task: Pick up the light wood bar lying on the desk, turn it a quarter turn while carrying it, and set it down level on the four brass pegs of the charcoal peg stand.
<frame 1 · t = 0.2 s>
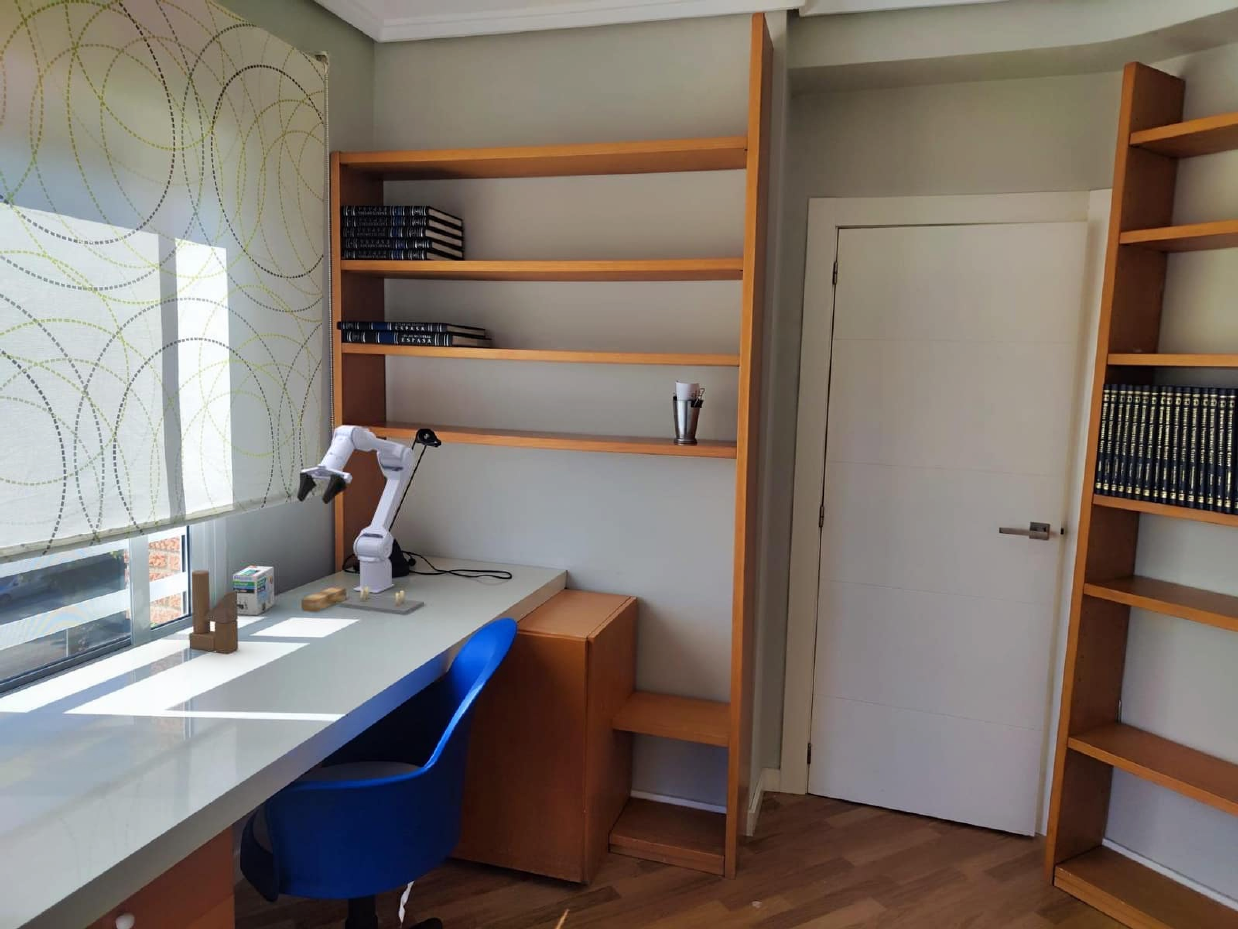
hand: (312, 500, 221), 31 cm above the table, tool tilted 45°, fingers open, 7 cm apart
light bulb box: (254, 610, 227), on the table
peg stand: (382, 605, 235), on the table
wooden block: (214, 650, 196), on the table
light wood bar: (324, 605, 234), on the table
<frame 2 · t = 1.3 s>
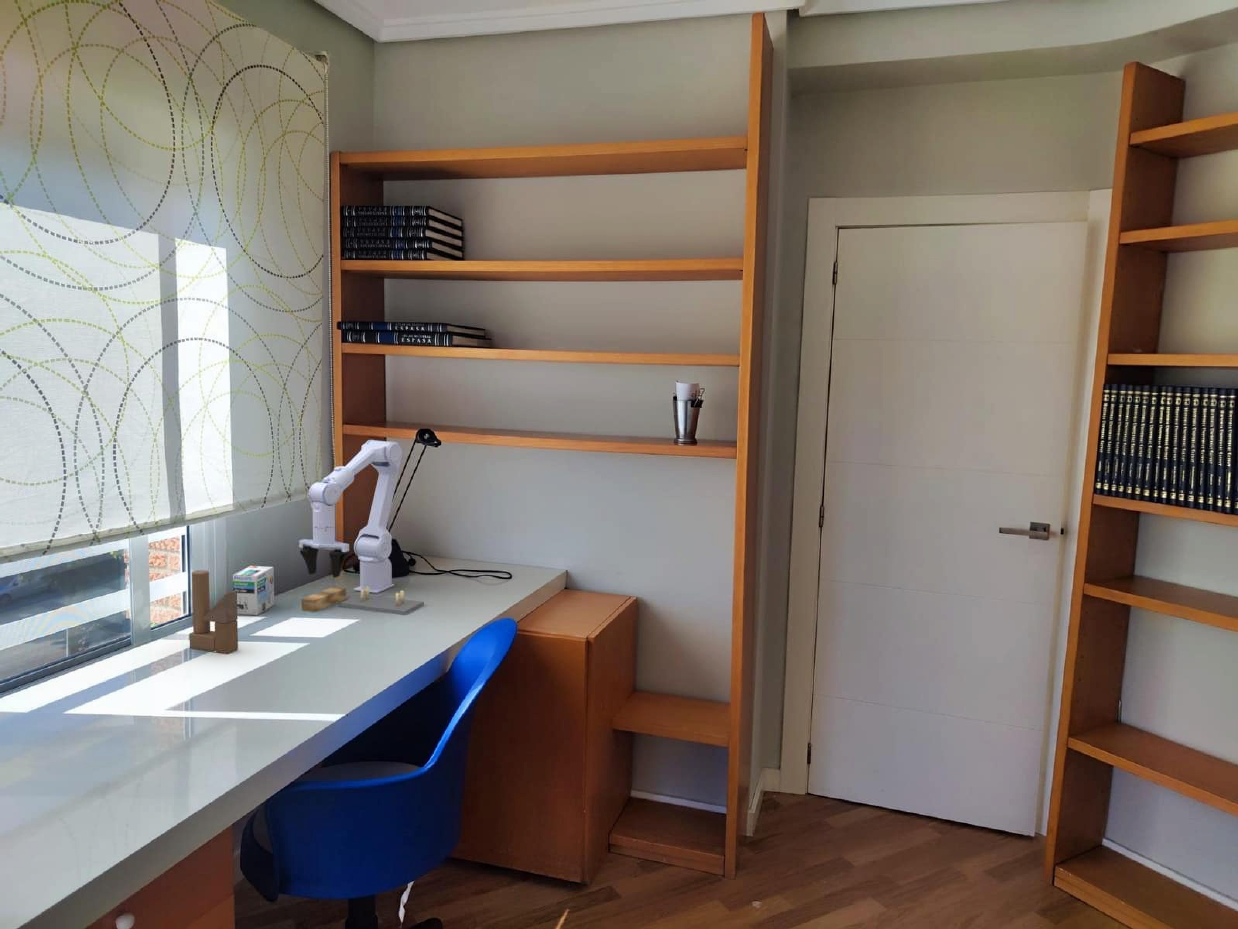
hand: (324, 575, 233), 8 cm above the table, tool pointing down, fingers open, 7 cm apart
nothing on the table moved.
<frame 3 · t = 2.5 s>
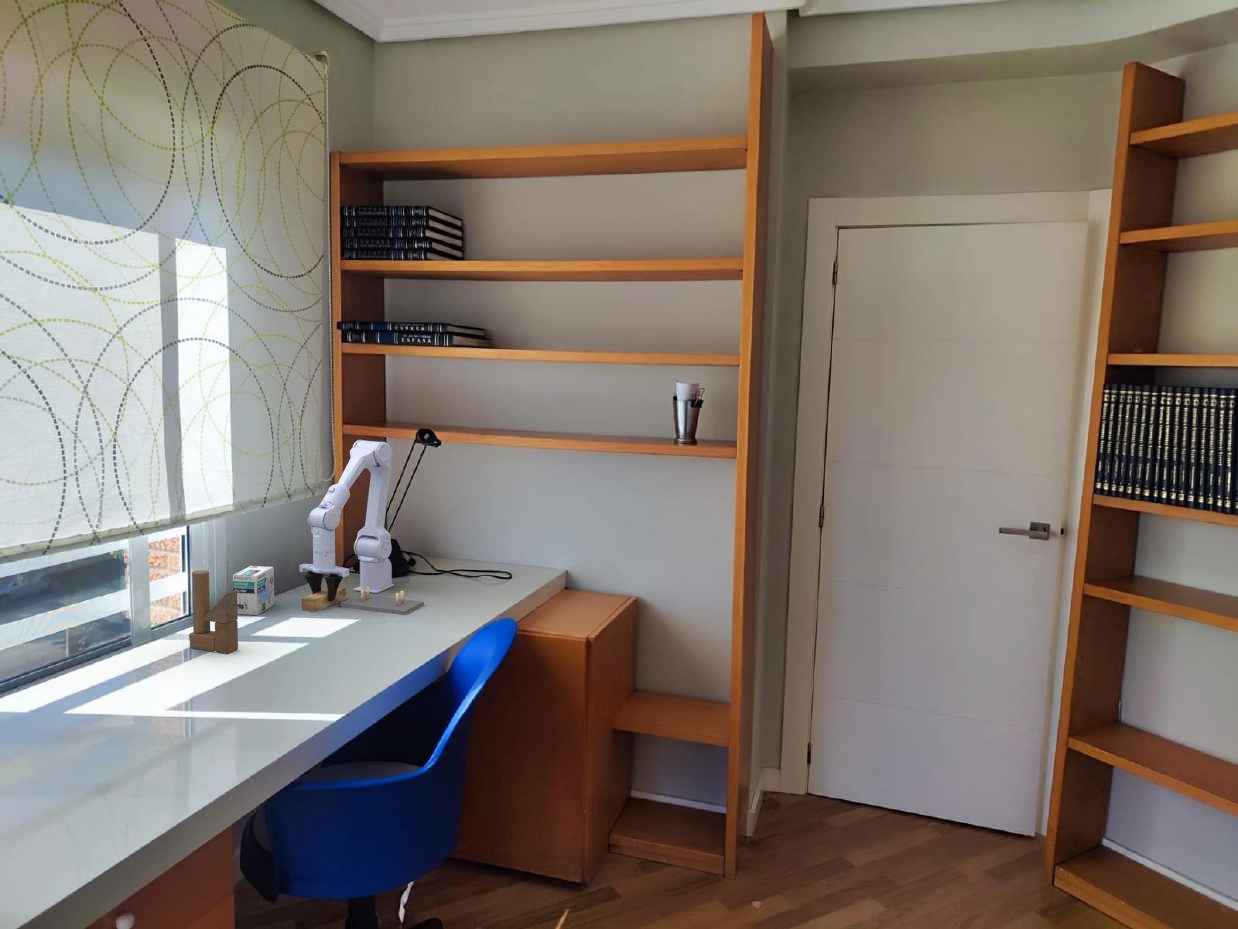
hand: (324, 599, 234), 1 cm above the table, tool pointing down, fingers closed on light wood bar, 4 cm apart
light wood bar: (324, 605, 234), on the table, touching gripper
everything else where it was.
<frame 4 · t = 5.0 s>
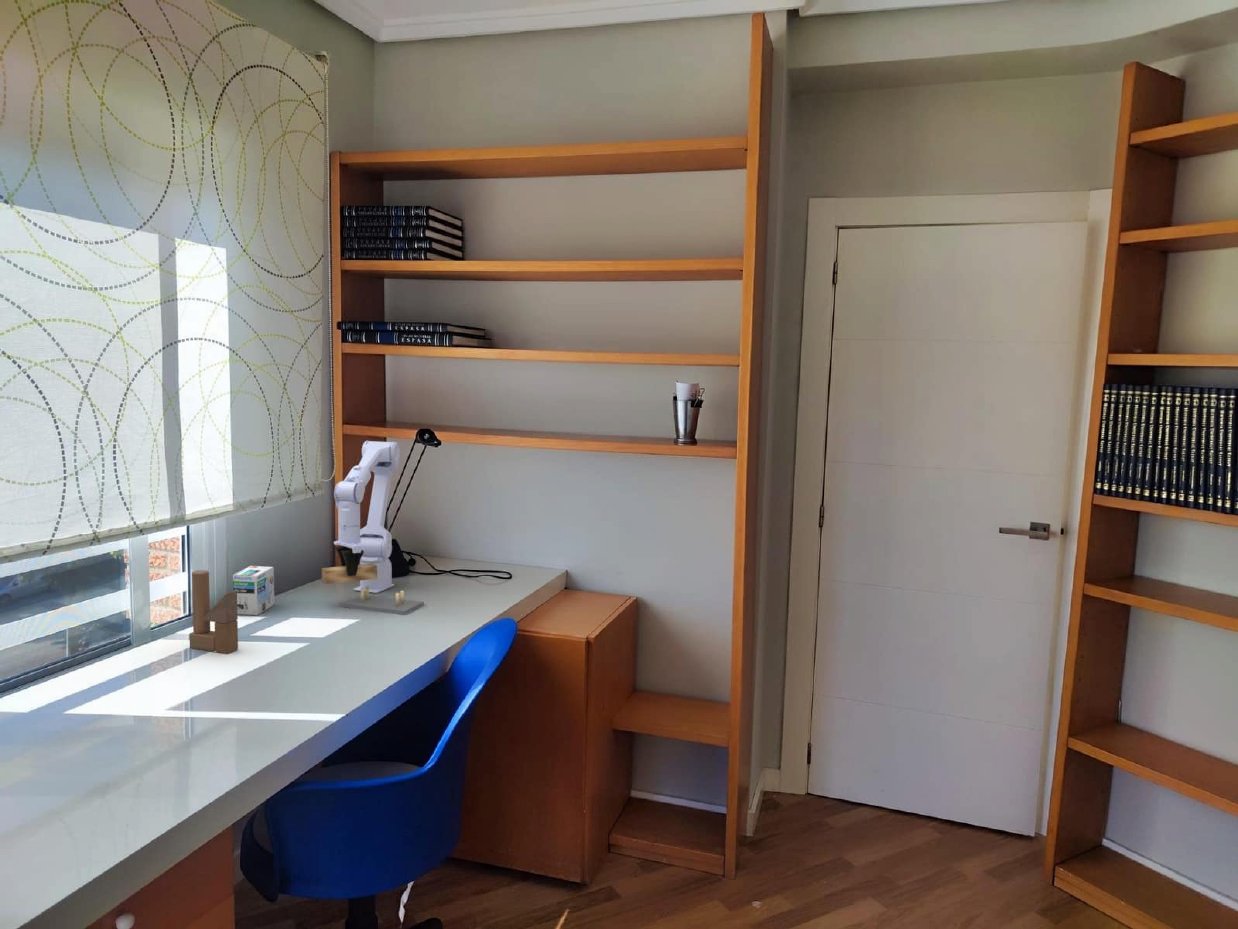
hand: (349, 573, 233), 9 cm above the table, tool pointing down, fingers closed on light wood bar, 4 cm apart
light wood bar: (349, 579, 233), point 7 cm above the table, touching gripper
everything else where it was.
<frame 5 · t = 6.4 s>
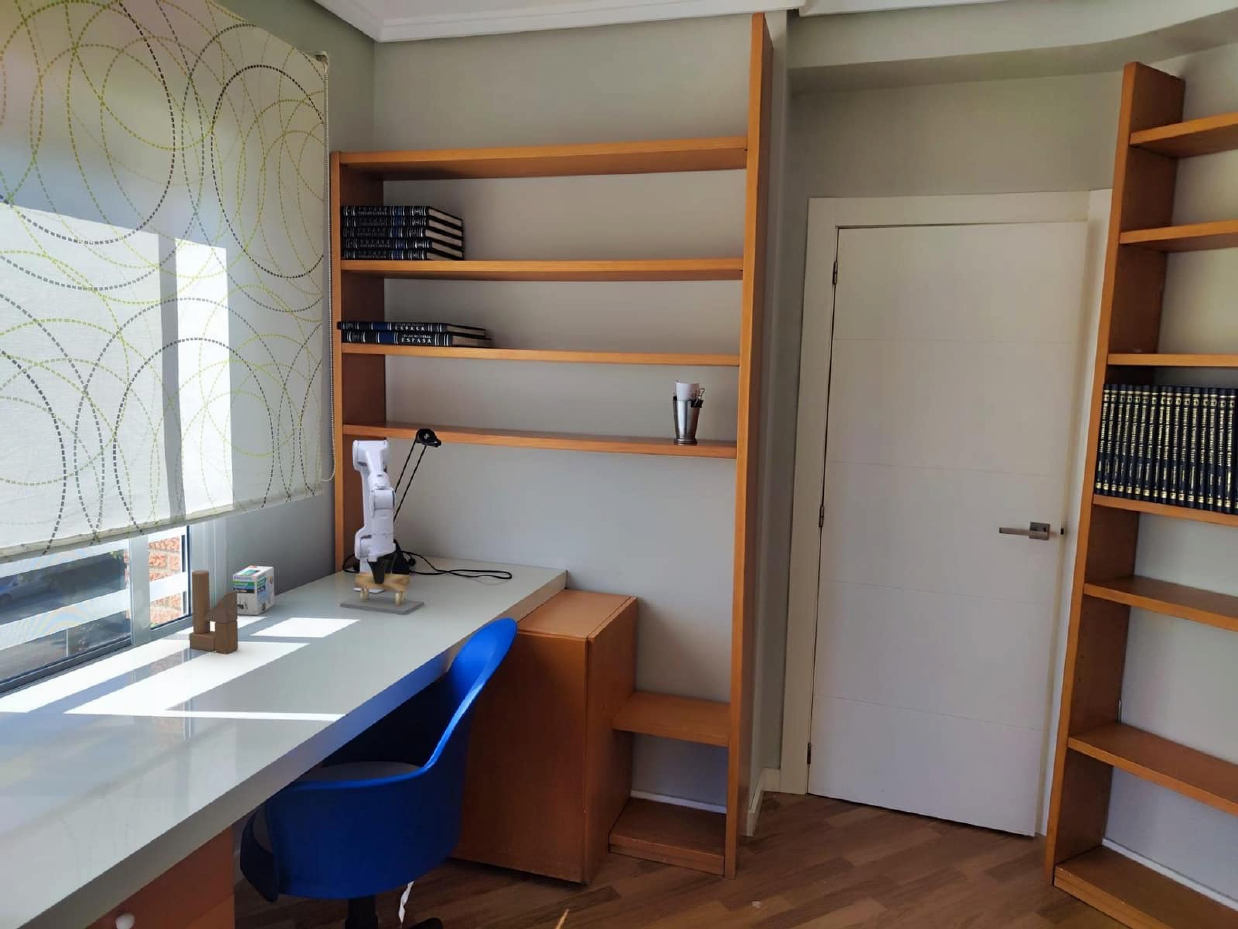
hand: (382, 581, 234), 7 cm above the table, tool pointing down, fingers closed on light wood bar, 4 cm apart
light wood bar: (382, 587, 234), point 5 cm above the table, touching gripper
everything else where it was.
when the fingers open (7 cm above the table, at t = 7.2 s): light wood bar stays where it is, resting on peg stand.
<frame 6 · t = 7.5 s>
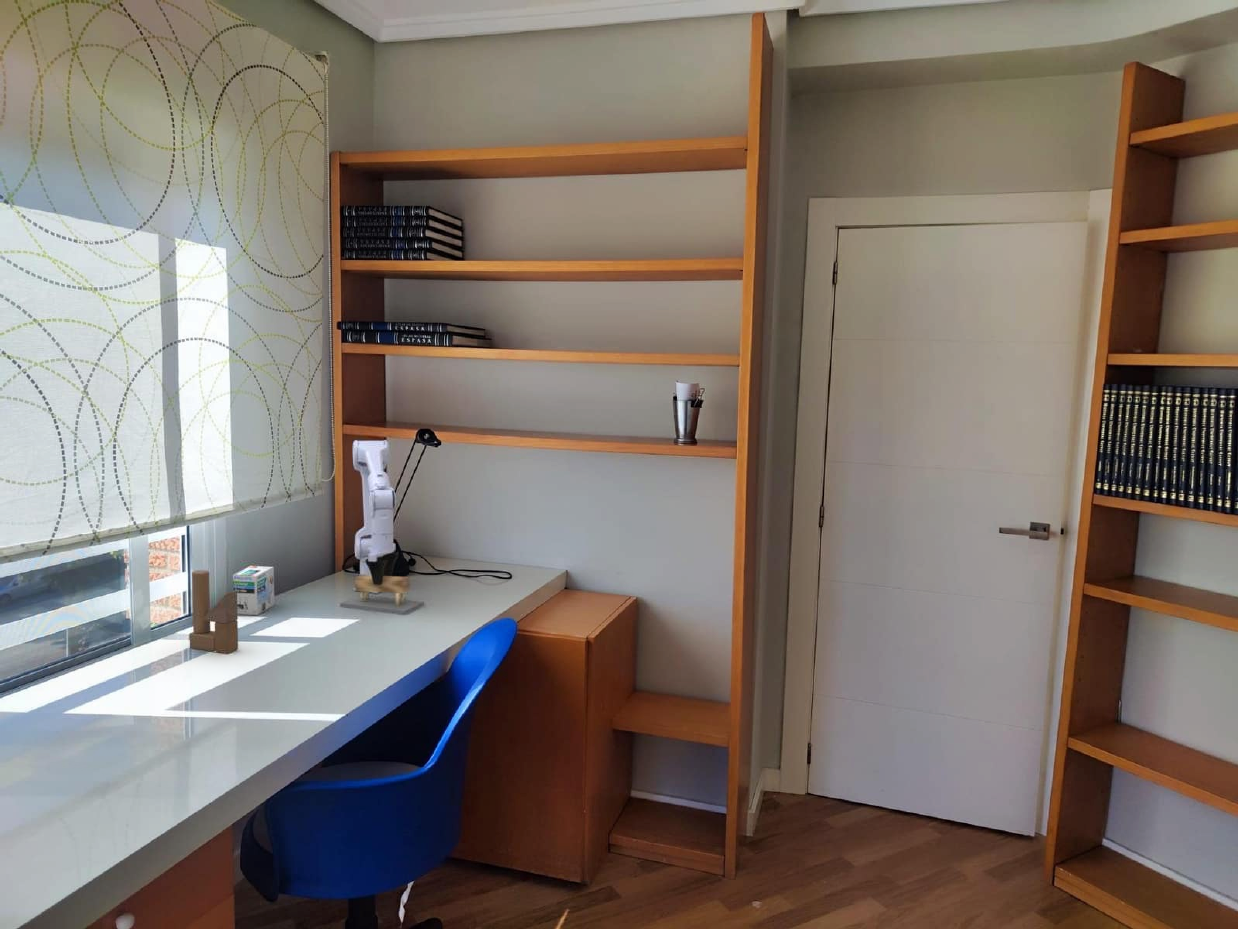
hand: (382, 581, 234), 7 cm above the table, tool pointing down, fingers open, 6 cm apart
light wood bar: (382, 590, 234), point 4 cm above the table, touching peg stand
everything else where it was.
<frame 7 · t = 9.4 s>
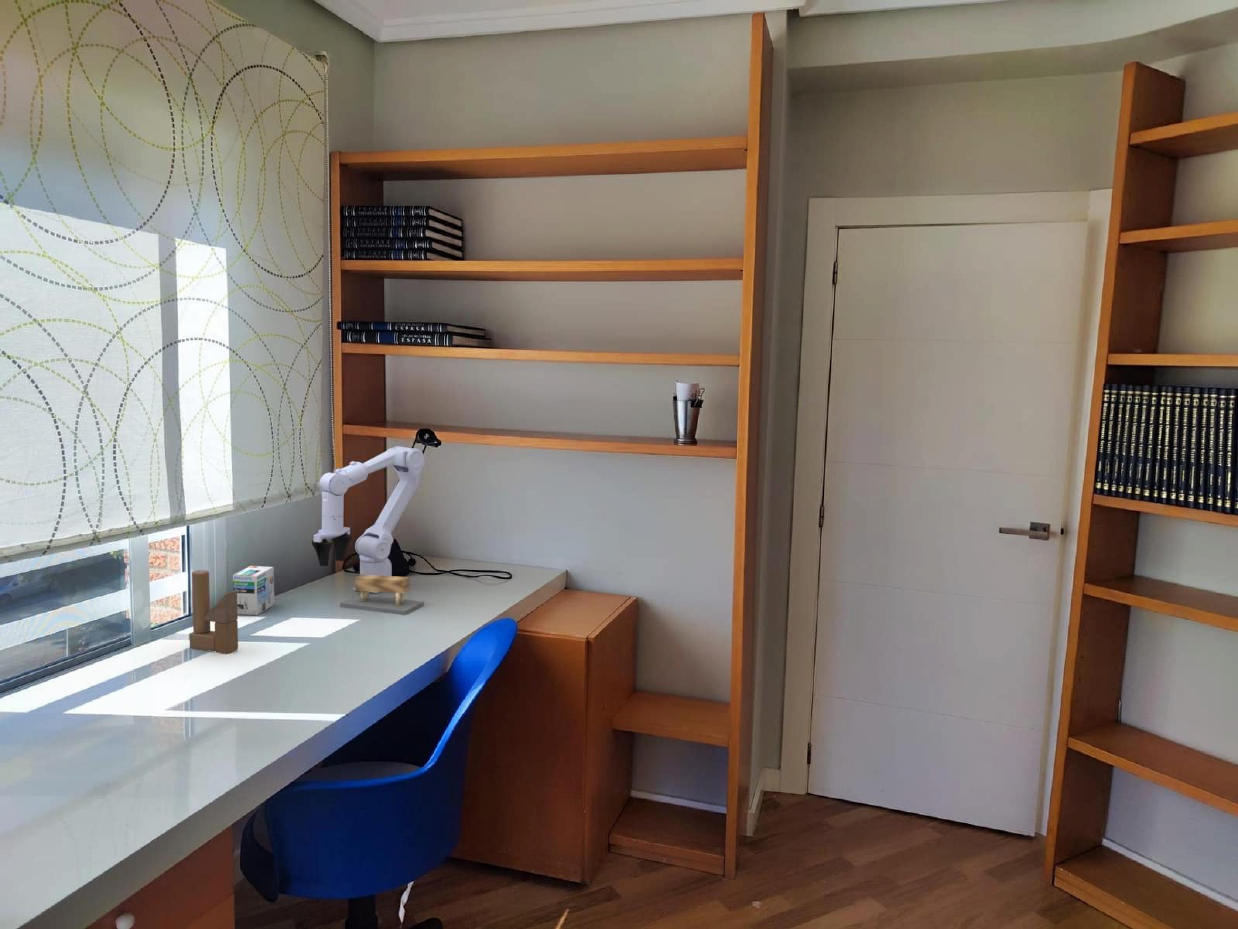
hand: (331, 563, 240), 10 cm above the table, tool pointing down, fingers open, 7 cm apart
nothing on the table moved.
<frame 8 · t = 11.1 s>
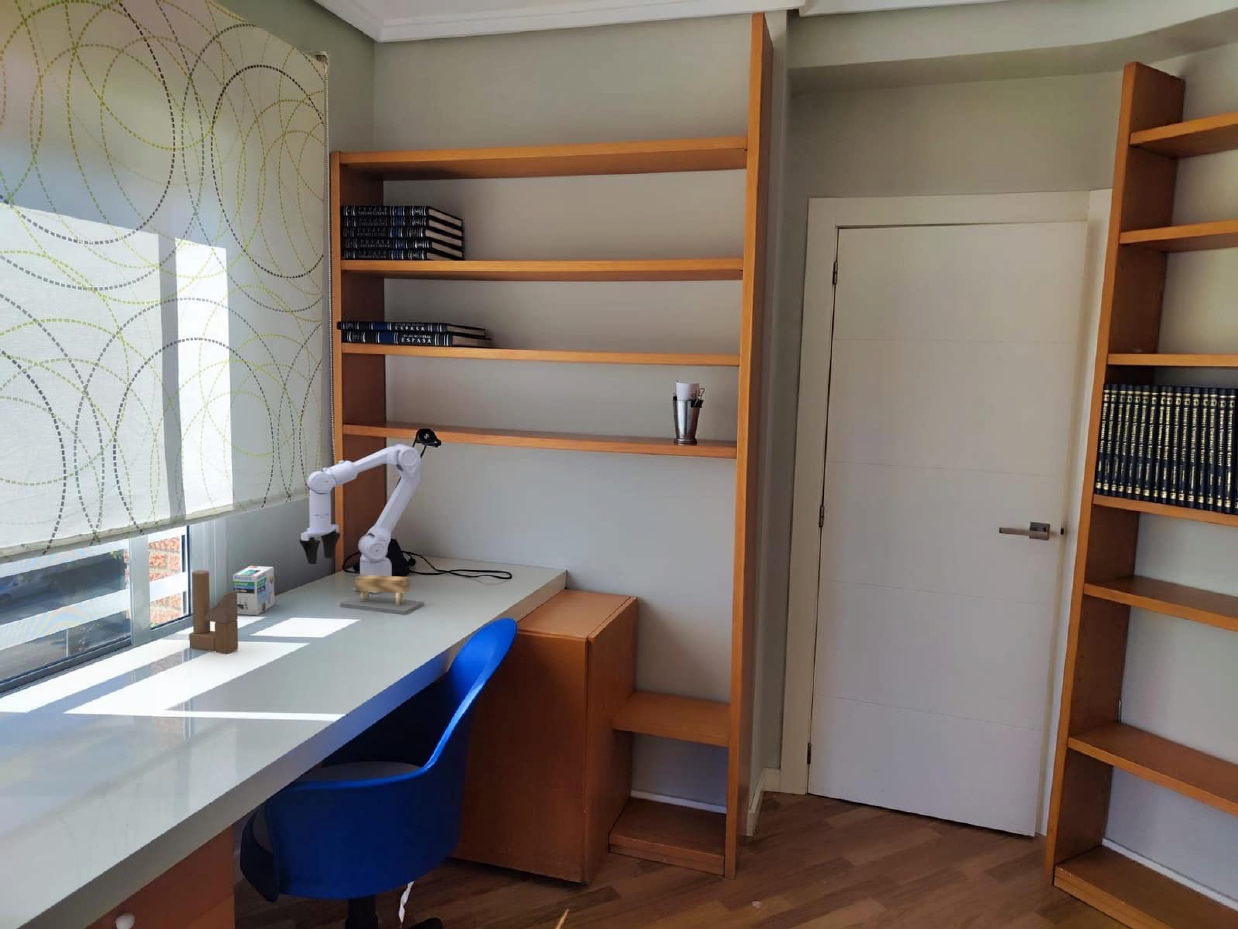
hand: (320, 560, 242), 10 cm above the table, tool pointing down, fingers open, 7 cm apart
nothing on the table moved.
at the end: light wood bar 0.0 cm off-centre on the peg stand, point 4.5 cm above the peg stand's base; light wood bar tilted 0°; the gripper is holding nothing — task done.
